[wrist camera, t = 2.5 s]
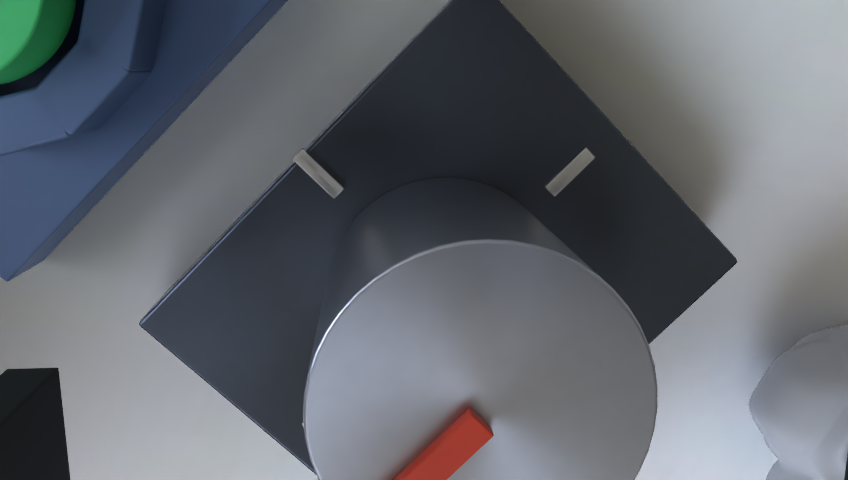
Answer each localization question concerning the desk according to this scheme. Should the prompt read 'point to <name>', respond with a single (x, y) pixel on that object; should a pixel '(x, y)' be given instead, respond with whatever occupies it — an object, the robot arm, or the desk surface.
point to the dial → (472, 349)
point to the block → (104, 108)
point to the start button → (31, 34)
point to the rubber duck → (806, 408)
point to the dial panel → (418, 160)
